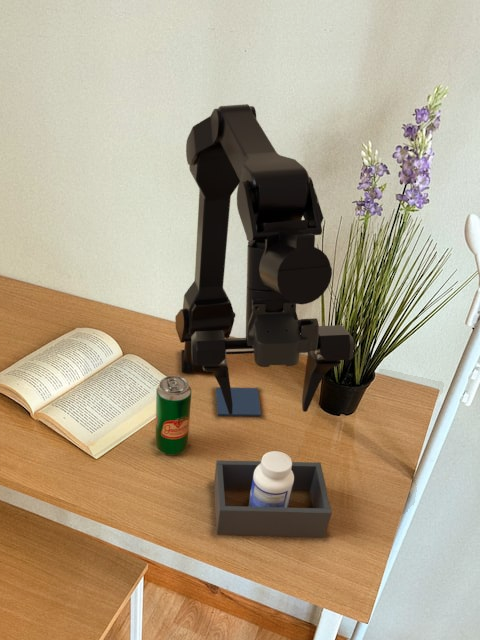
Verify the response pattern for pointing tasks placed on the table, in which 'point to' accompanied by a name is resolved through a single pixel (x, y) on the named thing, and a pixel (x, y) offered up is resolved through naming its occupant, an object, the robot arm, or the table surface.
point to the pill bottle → (272, 481)
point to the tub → (271, 518)
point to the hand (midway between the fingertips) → (267, 411)
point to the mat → (240, 402)
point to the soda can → (172, 415)
